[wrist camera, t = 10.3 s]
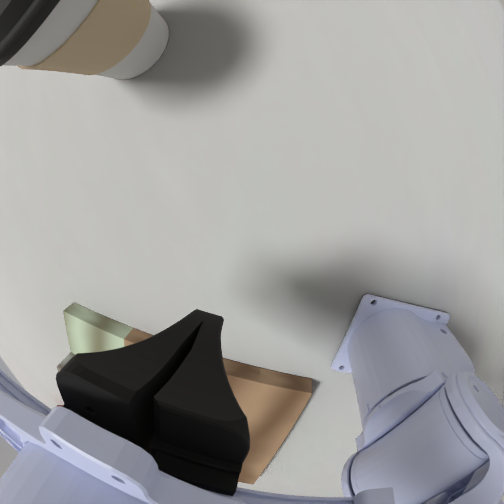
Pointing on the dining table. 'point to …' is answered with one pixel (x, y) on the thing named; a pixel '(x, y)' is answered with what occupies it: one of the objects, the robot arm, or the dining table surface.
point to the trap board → (239, 376)
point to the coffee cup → (82, 36)
